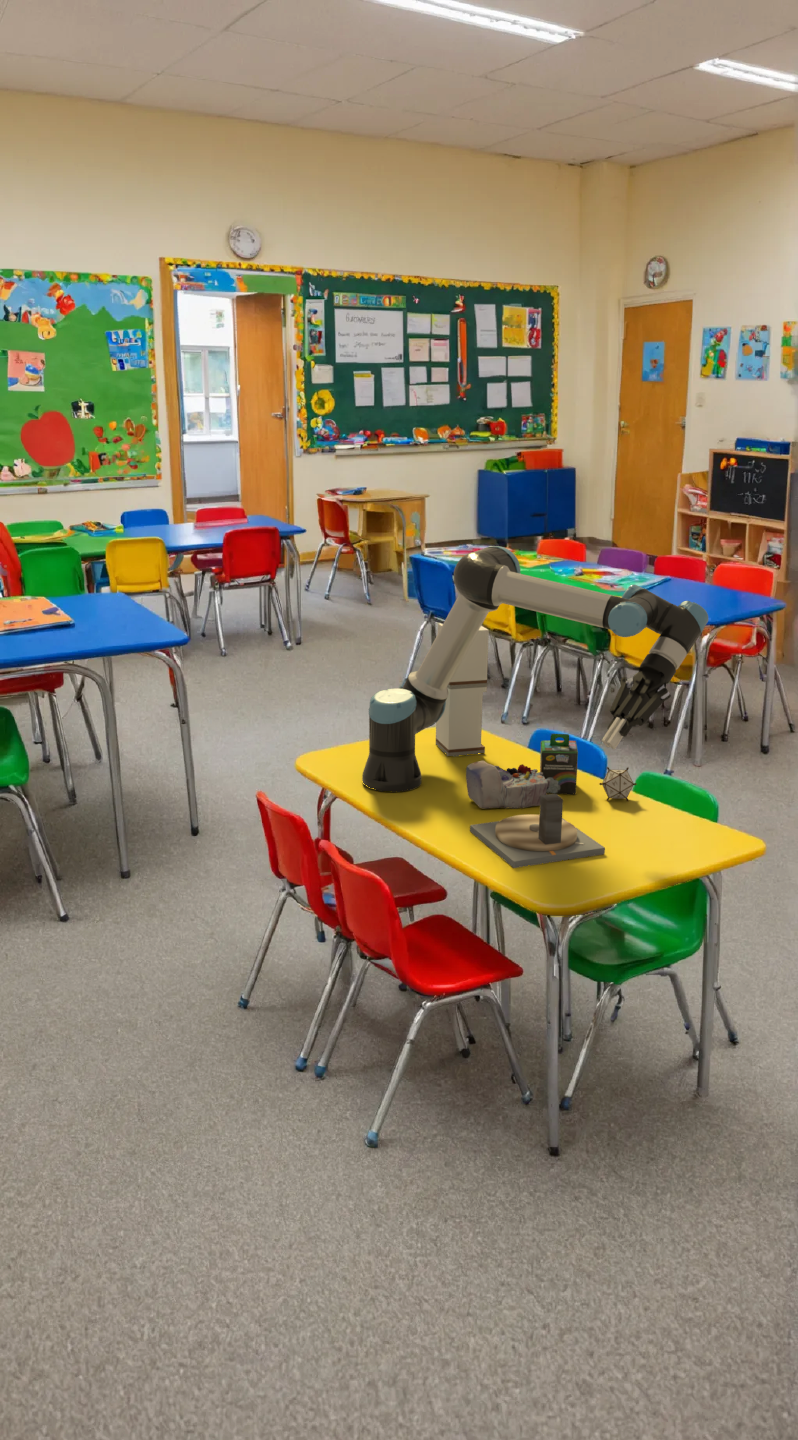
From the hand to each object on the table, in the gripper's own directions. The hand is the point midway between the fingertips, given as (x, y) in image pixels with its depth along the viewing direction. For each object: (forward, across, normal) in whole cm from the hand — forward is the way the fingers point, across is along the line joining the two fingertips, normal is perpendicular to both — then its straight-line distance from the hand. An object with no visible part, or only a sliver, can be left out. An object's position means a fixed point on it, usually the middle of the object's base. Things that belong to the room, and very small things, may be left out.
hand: (608, 744), depth 249 cm
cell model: (+18, +27, -13) cm, 35 cm away
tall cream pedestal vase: (+4, +66, -27) cm, 72 cm away
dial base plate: (+26, +5, -4) cm, 27 cm away
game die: (+1, +13, -29) cm, 32 cm away
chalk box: (+5, +27, -25) cm, 37 cm away
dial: (+25, +5, -3) cm, 26 cm away
